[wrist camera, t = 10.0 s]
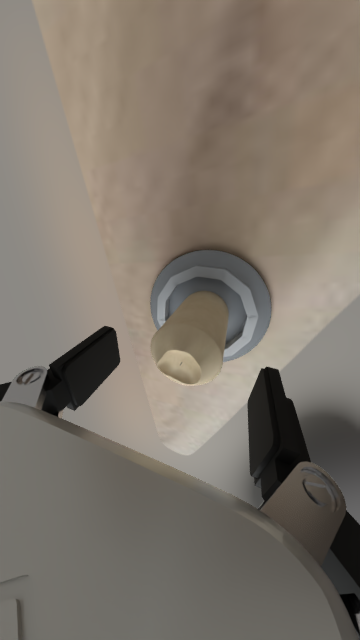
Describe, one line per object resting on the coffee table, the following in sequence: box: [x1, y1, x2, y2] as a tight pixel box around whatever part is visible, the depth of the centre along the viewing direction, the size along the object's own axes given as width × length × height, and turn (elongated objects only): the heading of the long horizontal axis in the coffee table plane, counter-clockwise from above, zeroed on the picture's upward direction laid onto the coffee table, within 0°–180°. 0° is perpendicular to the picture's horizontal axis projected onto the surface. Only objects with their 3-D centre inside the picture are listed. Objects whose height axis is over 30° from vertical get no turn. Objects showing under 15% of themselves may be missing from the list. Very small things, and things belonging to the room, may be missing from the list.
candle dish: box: [151, 250, 271, 362], centre depth 20 cm, size 14×14×2 cm
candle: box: [151, 291, 229, 386], centre depth 15 cm, size 6×6×10 cm
